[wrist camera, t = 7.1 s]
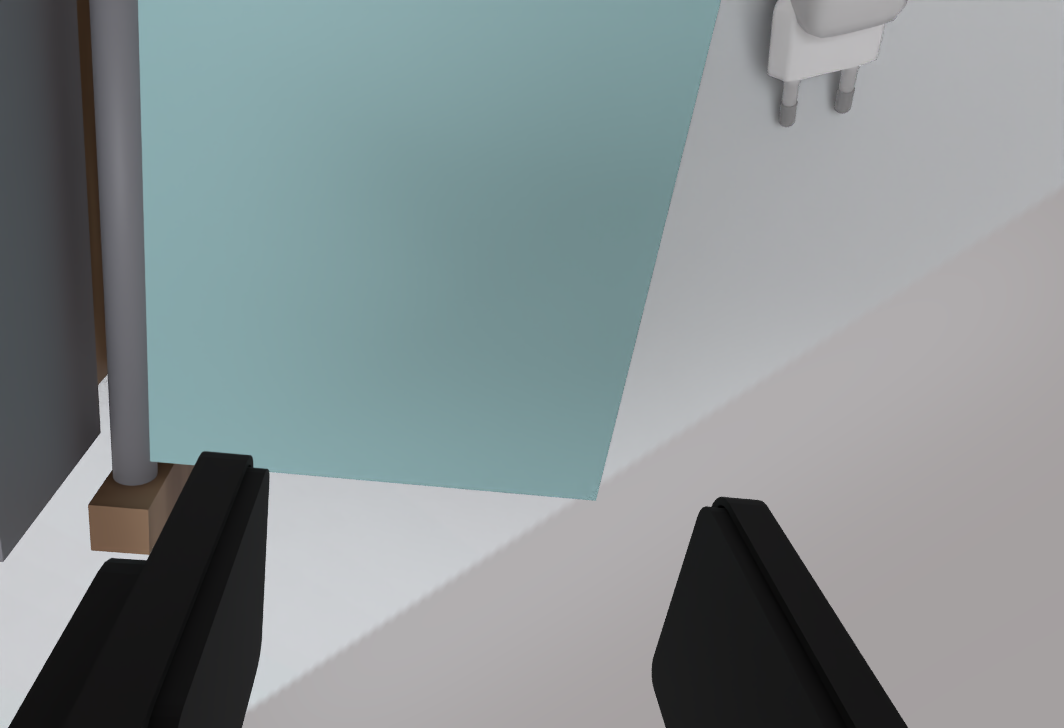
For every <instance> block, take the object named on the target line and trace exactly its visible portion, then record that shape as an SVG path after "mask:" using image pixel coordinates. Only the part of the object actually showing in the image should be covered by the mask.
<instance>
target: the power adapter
mask: <svg viewBox="0 0 1064 728" xmlns="http://www.w3.org/2000/svg"><path fill="white" fill-rule="evenodd" d="M906 3H907V0H778V1H777V3H776V5H775V7H774V12H773V18H772V28H771V38H770V48H769V59H768V69H767V73H768V75H769V76H771V77H774V78H777V79H780V80H782V81H784V88H783V96H782V101H781V106H780V115H779V123H780V124H781V125H782V126H784V127H789V126H792V125H793V124H794V122H795V118H796V111H797V103H798V101H797V98H798V91H799V83H800V82H801V80H802V79H806V78H810V77H815V76H819V75H823V74H827V73H831V72H835V71H839V70H842V73H841V79H840V84H839V87H838V91H837V96H836V102H835V110H836V111H837V112H838V113H842V114H843V113H847V112H848V111H849V110H850V109H851V105H852V100H853V95H854V91H855V82H856V77H857V72H858V69H859V66H860V65H864V64H867V63H869V62H872V61H874V60H876V59H877V56H878V53H879V50H880V46H881V42H882V37H883V33H884V28H885V24H886V23H888V22H891V21H893V20H894V19H895V18H896V17H897V16H898V14H899V13H900V12H901V11H902V9H903V8H904V7H905V5H906Z"/></svg>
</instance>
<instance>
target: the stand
mask: <svg viewBox="0 0 1064 728" xmlns="http://www.w3.org/2000/svg"><path fill="white" fill-rule="evenodd" d="M76 1H77V19H78V37H79V55H80V73H81V91H82V109H83V127H84V145H85V163H86V181H87V199H88V217H89V235H90V252H91V270H92V288H93V306H94V324H95V342H96V360H97V378H98V385H99V383H100V382H101V381H102V380H103V379H104V378H105V377H106V375H107V374H108V370H107V350H106V330H105V310H104V289H103V269H102V249H101V229H100V209H99V189H98V169H97V149H96V129H95V108H94V88H93V68H92V48H91V28H90V8H89V0H76ZM157 464H158V474H157V476H156V478H155V479H154V480H152V481H150V482H148V483H146V484H142V485H136V486H128V485H122V484H119V483H117V482H116V481H115V480H114V479H113V470H112V471H111V472H110V474H109V475H108V477H107V478H106V480H105V481H104V483H103V484H102V486H101V487H100V488H99V490H98V491H97V493H96V494H95V496H94V497H93V499H92V500H91V502H90V503H89V504H88V510H89V525H90V540H91V550H93V551H107V552H120V553H133V554H147V555H150V553H151V551H152V549H153V547H154V545H155V543H156V541H157V539H158V537H159V535H160V533H161V531H162V529H163V527H164V525H165V523H166V521H167V519H168V517H169V515H170V513H171V511H172V509H173V507H174V505H175V503H176V501H177V499H178V497H179V495H180V493H181V491H182V489H183V487H184V485H185V483H186V481H187V479H188V477H189V475H190V473H191V471H192V469H193V467H194V465H186V464H174V463H163V462H157Z"/></svg>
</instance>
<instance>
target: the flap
mask: <svg viewBox="0 0 1064 728" xmlns="http://www.w3.org/2000/svg"><path fill="white" fill-rule="evenodd" d="M720 2H721V0H89V8H90V28H91V48H92V68H93V88H94V108H95V129H96V149H97V169H98V189H99V209H100V229H101V249H102V269H103V289H104V310H105V330H106V350H107V370H108V390H109V410H110V430H111V450H112V470H113V479H114V480H115V481H116V482H117V483H119V484H122V485H128V486H136V485H142V484H146V483H148V482H150V481H152V480H154V479H155V478H156V476H157V474H158V464H157V462H163V463H174V464H186V465H195V463H196V461H197V459H198V457H199V456H200V454H201V453H202V452H203V451H210V452H221V453H232V454H244V455H252V457H253V468H264V469H268V470H269V472H276V473H288V474H299V475H311V476H322V477H333V478H345V479H356V480H367V481H379V482H390V483H402V484H413V485H424V486H436V487H447V488H458V489H470V490H481V491H492V492H504V493H515V494H527V495H538V496H549V497H561V498H572V499H583V500H596V498H597V494H598V490H599V486H600V482H601V478H602V474H603V470H604V466H605V462H606V458H607V454H608V450H609V446H610V442H611V438H612V434H613V430H614V426H615V422H616V418H617V414H618V410H619V406H620V402H621V398H622V394H623V390H624V386H625V382H626V378H627V374H628V370H629V366H630V362H631V358H632V354H633V350H634V346H635V342H636V338H637V334H638V330H639V326H640V322H641V318H642V314H643V310H644V306H645V302H646V298H647V294H648V290H649V286H650V282H651V278H652V274H653V270H654V266H655V262H656V258H657V254H658V250H659V246H660V242H661V238H662V234H663V230H664V226H665V222H666V218H667V214H668V210H669V206H670V202H671V198H672V194H673V190H674V186H675V182H676V178H677V174H678V170H679V166H680V162H681V158H682V154H683V150H684V146H685V142H686V138H687V134H688V130H689V126H690V122H691V118H692V114H693V110H694V106H695V102H696V98H697V94H698V90H699V86H700V82H701V78H702V74H703V70H704V66H705V62H706V58H707V54H708V50H709V46H710V42H711V38H712V34H713V30H714V26H715V22H716V18H717V14H718V10H719V6H720ZM100 433H101V432H100V414H99V396H98V378H97V360H96V342H95V324H94V306H93V288H92V270H91V252H90V235H89V217H88V199H87V181H86V163H85V145H84V127H83V109H82V91H81V73H80V55H79V37H78V19H77V1H76V0H0V562H4V560H5V559H6V558H7V556H8V555H9V554H10V552H11V551H12V550H13V548H14V547H15V546H16V544H17V543H18V542H19V540H20V539H21V538H22V536H23V535H24V534H25V532H26V531H27V530H28V528H29V527H30V526H31V524H32V523H33V522H34V520H35V519H36V518H37V516H38V515H39V514H40V512H41V511H42V510H43V508H44V507H45V506H46V504H47V503H48V502H49V500H50V499H51V498H52V496H53V495H54V494H55V492H56V491H57V490H58V488H59V487H60V486H61V484H62V483H63V482H64V481H65V479H66V478H67V477H68V475H69V474H70V473H71V471H72V470H73V469H74V467H75V466H76V465H77V463H78V462H79V461H80V459H81V458H82V457H83V455H84V454H85V453H86V451H87V450H88V449H89V447H90V446H91V445H92V443H93V442H94V441H95V439H96V438H97V437H98V435H99V434H100Z"/></svg>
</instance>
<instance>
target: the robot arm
mask: <svg viewBox="0 0 1064 728" xmlns="http://www.w3.org/2000/svg"><path fill="white" fill-rule="evenodd" d="M268 497H269V470H268V469H264V468H253V457H252V455H244V454H232V453H221V452H210V451H203V452H202V453H201V454H200V456H199V457H198V459H197V461H196V463H195V465H194V467H193V469H192V471H191V473H190V475H189V477H188V479H187V481H186V483H185V485H184V487H183V489H182V491H181V493H180V495H179V497H178V499H177V501H176V503H175V505H174V507H173V509H172V511H171V513H170V515H169V517H168V519H167V521H166V523H165V525H164V527H163V529H162V531H161V533H160V535H159V537H158V539H157V541H156V543H155V545H154V547H153V549H152V551H151V553H150V555H149V557H148V559H147V560H132V559H117V558H111V559H109V560H108V561H106V562H105V563H104V564H103V566H102V567H101V568H100V570H99V571H98V573H97V574H96V576H95V578H94V580H93V581H92V583H91V585H90V587H89V588H88V590H87V592H86V593H85V595H84V597H83V599H82V600H81V602H80V604H79V606H78V607H77V609H76V611H75V613H74V614H73V616H72V618H71V620H70V621H69V623H68V625H67V626H66V628H65V630H64V632H63V633H62V635H61V637H60V639H59V640H58V642H57V644H56V646H55V647H54V649H53V651H52V653H51V654H50V656H49V658H48V659H47V661H46V663H45V665H44V666H43V668H42V670H41V672H40V673H39V675H38V677H37V679H36V680H35V682H34V684H33V686H32V687H31V689H30V691H29V693H28V694H27V696H26V698H25V699H24V701H23V703H22V705H21V706H20V708H19V710H18V712H17V713H16V715H15V717H14V719H13V720H12V722H11V724H10V726H9V727H8V728H242V725H243V721H244V717H245V714H246V710H247V706H248V702H249V698H250V694H251V691H252V687H253V683H254V679H255V675H256V671H257V667H258V662H259V657H260V650H261V642H262V624H263V603H264V582H265V561H266V539H267V518H268ZM652 682H653V687H654V691H655V694H656V698H657V701H658V704H659V707H660V710H661V714H662V717H663V720H664V723H665V727H666V728H908V727H907V725H906V724H905V722H904V721H903V719H902V718H901V716H900V714H899V713H898V711H897V710H896V708H895V706H894V705H893V703H892V702H891V700H890V699H889V697H888V695H887V694H886V692H885V691H884V689H883V688H882V686H881V685H880V683H879V681H878V680H877V678H876V677H875V675H874V674H873V672H872V670H871V669H870V667H869V666H868V664H867V663H866V661H865V659H864V658H863V656H862V655H861V653H860V651H859V650H858V648H857V647H856V645H855V644H854V642H853V640H852V639H851V637H850V636H849V634H848V633H847V631H846V630H845V628H844V626H843V625H842V623H841V622H840V620H839V618H838V617H837V615H836V614H835V612H834V610H833V609H832V607H831V606H830V604H829V603H828V601H827V600H826V598H825V596H824V595H823V593H822V592H821V590H820V589H819V587H818V585H817V584H816V582H815V581H814V579H813V578H812V576H811V574H810V573H809V571H808V570H807V568H806V566H805V565H804V563H803V562H802V560H801V559H800V557H799V555H798V554H797V552H796V551H795V549H794V548H793V546H792V544H791V543H790V541H789V540H788V538H787V537H786V535H785V533H784V532H783V530H782V529H781V527H780V525H779V524H778V522H777V521H776V519H775V518H774V516H773V515H772V513H771V511H770V510H769V508H768V507H767V505H766V504H765V503H764V502H763V501H759V500H752V499H739V498H729V497H719V498H717V499H716V500H715V502H714V503H713V505H712V507H703V508H702V509H701V510H700V512H699V514H698V517H697V520H696V524H695V526H694V530H693V533H692V536H691V539H690V542H689V546H688V549H687V552H686V555H685V559H684V561H683V565H682V568H681V571H680V574H679V578H678V581H677V584H676V587H675V590H674V594H673V597H672V600H671V603H670V606H669V609H668V612H667V616H666V619H665V622H664V625H663V628H662V632H661V635H660V638H659V641H658V645H657V647H656V651H655V654H654V657H653V662H652Z"/></svg>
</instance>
